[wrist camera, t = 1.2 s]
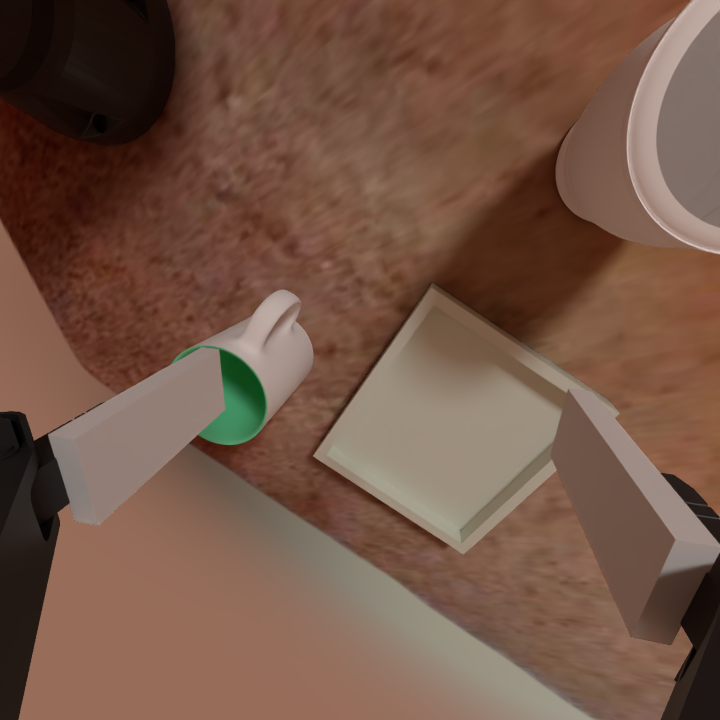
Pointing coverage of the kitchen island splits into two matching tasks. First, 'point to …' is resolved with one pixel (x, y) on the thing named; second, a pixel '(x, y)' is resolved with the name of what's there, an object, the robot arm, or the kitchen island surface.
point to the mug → (258, 367)
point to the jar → (653, 140)
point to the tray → (452, 422)
